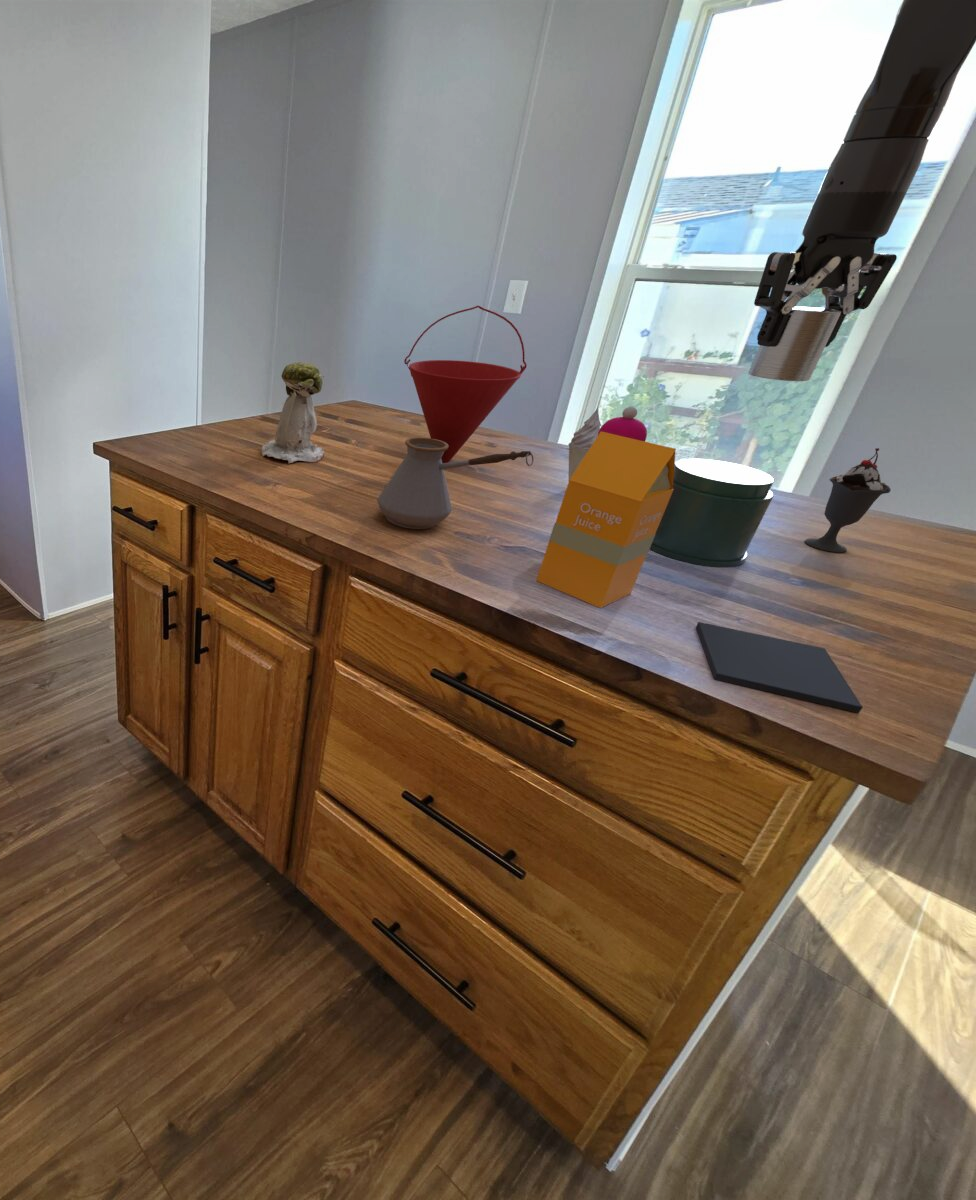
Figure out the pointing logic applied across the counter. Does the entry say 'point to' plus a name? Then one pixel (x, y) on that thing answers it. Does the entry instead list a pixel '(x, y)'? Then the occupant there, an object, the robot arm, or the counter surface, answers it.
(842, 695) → the mat
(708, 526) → the canister
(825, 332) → the silver cup
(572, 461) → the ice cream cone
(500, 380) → the fire bucket
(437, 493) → the coffee pot
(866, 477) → the sundae
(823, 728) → the counter surface
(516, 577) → the counter surface
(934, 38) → the robot arm
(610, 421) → the pepper mill
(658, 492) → the orange juice
